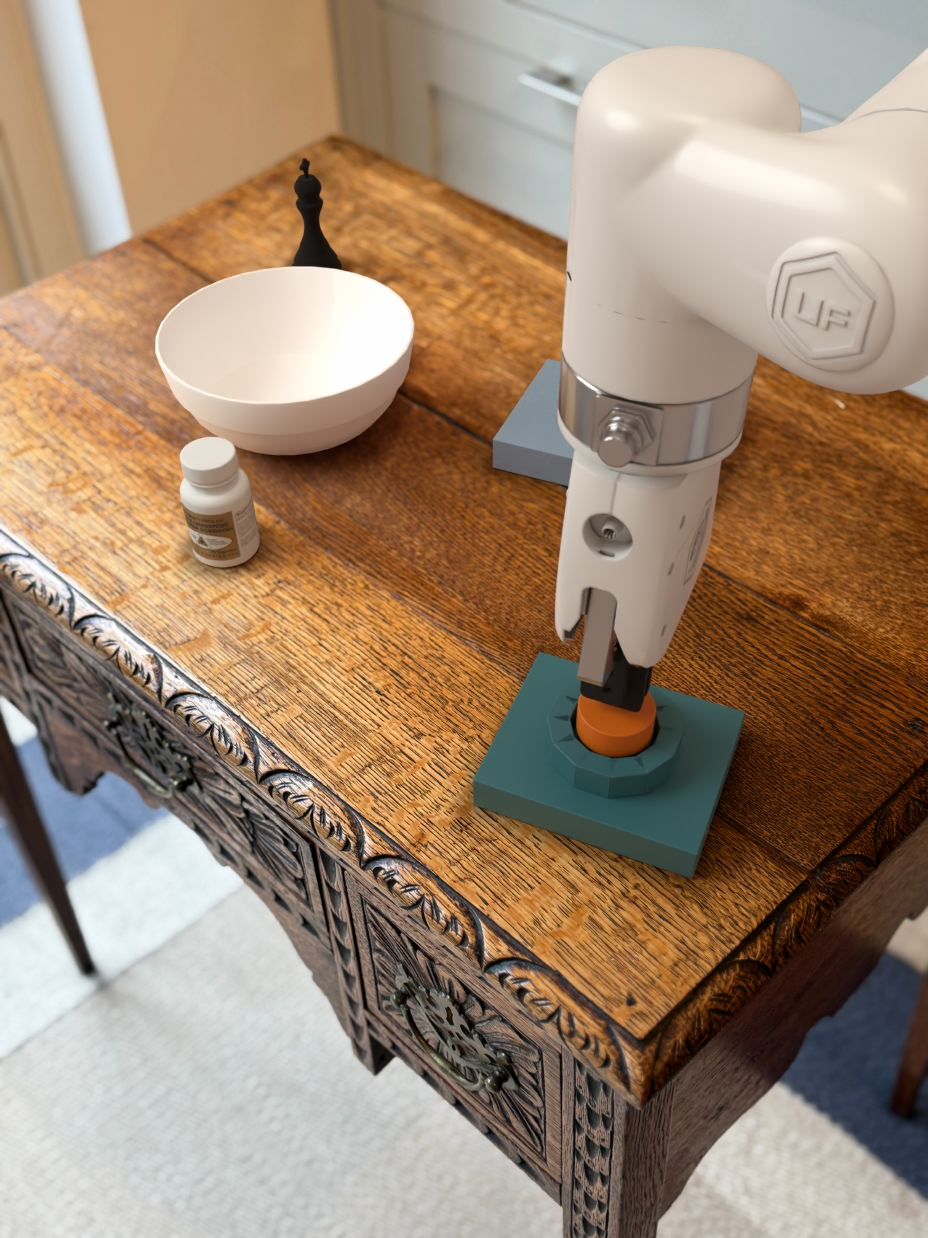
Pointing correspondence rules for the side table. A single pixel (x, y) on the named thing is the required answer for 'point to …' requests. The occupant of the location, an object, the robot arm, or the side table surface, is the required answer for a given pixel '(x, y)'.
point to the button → (615, 727)
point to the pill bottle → (217, 503)
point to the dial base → (535, 432)
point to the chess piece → (312, 224)
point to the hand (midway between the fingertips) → (614, 693)
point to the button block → (610, 771)
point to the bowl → (287, 356)
